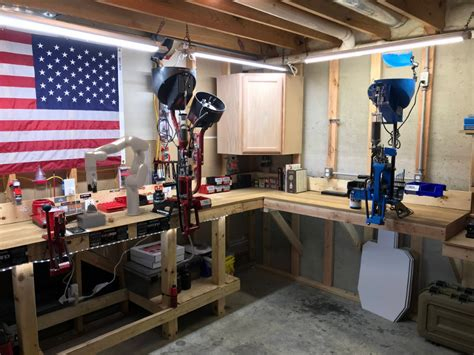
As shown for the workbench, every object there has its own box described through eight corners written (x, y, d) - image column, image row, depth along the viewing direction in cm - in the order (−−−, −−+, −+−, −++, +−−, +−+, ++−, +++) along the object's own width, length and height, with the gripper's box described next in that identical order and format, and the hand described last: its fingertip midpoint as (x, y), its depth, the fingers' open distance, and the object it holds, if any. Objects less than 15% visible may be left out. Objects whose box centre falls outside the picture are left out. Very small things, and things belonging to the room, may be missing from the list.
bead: (112, 220, 287) (112, 215, 286) (114, 221, 284) (114, 216, 283) (107, 221, 284) (107, 216, 284) (109, 222, 281) (109, 217, 281)
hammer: (59, 230, 275) (98, 218, 295) (56, 215, 272) (95, 204, 293) (56, 229, 278) (95, 217, 299) (53, 214, 276) (93, 203, 296)
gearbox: (99, 222, 283) (98, 209, 282) (106, 225, 274) (105, 211, 273) (77, 226, 272) (76, 212, 271) (83, 229, 264) (82, 215, 262)
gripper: (100, 169, 272) (102, 192, 274) (91, 167, 285) (93, 190, 287) (89, 170, 267) (91, 194, 269) (81, 168, 280) (83, 191, 283)
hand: (92, 192), depth 278 cm, fingers open, 9 cm apart
